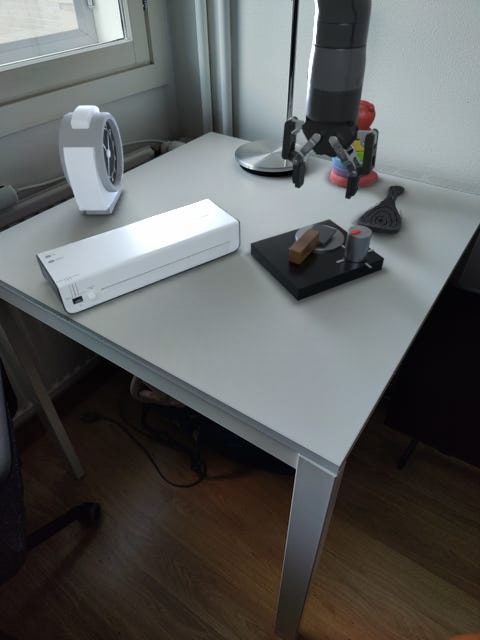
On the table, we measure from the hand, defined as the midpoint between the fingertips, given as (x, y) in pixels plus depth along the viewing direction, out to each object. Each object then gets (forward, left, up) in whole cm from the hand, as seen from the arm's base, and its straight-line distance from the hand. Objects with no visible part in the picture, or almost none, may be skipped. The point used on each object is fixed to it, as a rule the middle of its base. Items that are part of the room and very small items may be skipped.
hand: (323, 191), depth 74 cm
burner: (-4, -4, -12) cm, 13 cm away
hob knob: (-6, +4, -12) cm, 14 cm away
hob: (-1, -1, -15) cm, 15 cm away
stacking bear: (-29, -26, -15) cm, 41 cm away
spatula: (-1, -3, -12) cm, 12 cm away
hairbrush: (-25, -9, -15) cm, 30 cm away
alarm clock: (+26, -44, -15) cm, 53 cm away
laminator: (+26, -15, -15) cm, 34 cm away
